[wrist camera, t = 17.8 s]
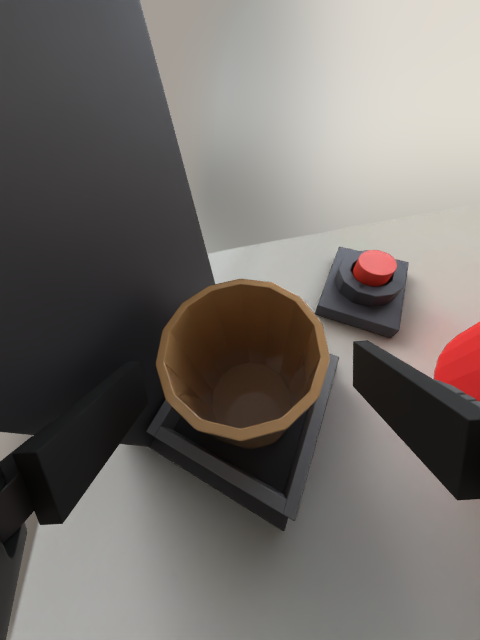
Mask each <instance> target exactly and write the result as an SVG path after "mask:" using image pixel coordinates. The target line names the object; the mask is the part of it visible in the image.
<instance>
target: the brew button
mask: <svg viewBox="0 0 480 640" xmlns="http://www.w3.org/2000/svg"><path fill="white" fill-rule="evenodd" d="M396 269H397V263H396V260H395V259H394V258H393V257H392V256H391V255H389V254H388V253H386V252H383V251H379V250H369V251H366V252H364V253H362V254H361V255H360V256H359V258H358V260H357V262H356V265H355V267H354V269H353V274H354V277H355V278H356V279H357V280H358V281H359V282H361V283H362V284H364V285H367V286H372V287H378V286H382V285H384V284H386V283H387V282H388V280H389V279H390V278H391V276H392V275H393V273H394V272H395V271H396Z"/></svg>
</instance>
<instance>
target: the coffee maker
mask: <svg viewBox="0 0 480 640" xmlns="http://www.w3.org/2000/svg"><path fill="white" fill-rule="evenodd" d="M211 285H215V281H214V278H213V274H212V270H211V266H210V263H209V259H208V255H207V252H206V248H205V244H204V240H203V237H202V233H201V229H200V225H199V221H198V217H197V214H196V210H195V206H194V203H193V199H192V195H191V191H190V187H189V183H188V180H187V176H186V172H185V168H184V165H183V161H182V157H181V153H180V150H179V146H178V142H177V138H176V134H175V131H174V127H173V124H172V119H171V116H170V112H169V108H168V104H167V101H166V97H165V93H164V89H163V85H162V82H161V78H160V74H159V71H158V67H157V63H156V59H155V56H154V52H153V48H152V44H151V40H150V37H149V33H148V29H147V25H146V22H145V18H144V15H143V10H142V6H141V3H140V0H0V432H8V433H18V434H28V435H34V434H36V433H37V432H38V431H39V430H41V429H43V428H44V426H46V425H47V424H48V423H49V422H51V421H52V420H53V419H54V418H56V417H58V416H60V415H61V414H63V413H64V412H65V411H66V410H68V409H69V408H70V407H71V406H73V405H74V404H75V403H76V402H78V401H79V400H80V399H81V398H83V397H84V396H85V395H86V394H88V393H89V392H90V391H91V390H93V389H94V388H95V387H96V386H98V385H99V384H100V383H101V382H103V381H104V380H105V379H106V378H108V377H109V376H110V375H111V374H113V373H114V372H115V371H116V370H118V369H119V368H120V367H121V366H123V365H124V364H125V363H126V362H134V361H140V366H141V370H142V375H143V380H144V384H145V389H146V393H147V398H148V402H149V403H148V404H147V406H146V407H145V409H144V410H143V411H142V413H141V414H140V416H139V417H138V418H137V420H136V421H135V423H134V424H133V425H132V427H131V428H130V430H129V431H128V433H127V434H126V435H125V437H124V438H123V440H122V441H121V442H120V444H128V445H138V446H148V447H150V448H151V449H153V450H155V451H156V452H158V453H159V454H161V455H163V456H164V457H166V458H167V459H169V460H171V461H172V462H174V463H175V464H177V465H179V466H180V467H182V468H183V469H185V470H186V471H188V472H190V473H191V474H193V475H194V476H196V477H198V478H199V479H201V480H202V481H204V482H206V483H207V484H209V485H210V486H212V487H214V488H215V489H217V490H218V491H220V492H222V493H223V494H225V495H226V496H228V497H230V498H231V499H233V500H234V501H236V502H238V503H239V504H241V505H242V506H244V507H246V508H247V509H249V510H250V511H252V512H253V513H255V514H257V515H258V516H260V517H261V518H263V519H265V520H266V521H268V522H269V523H271V524H273V525H274V526H276V527H277V528H279V529H281V530H282V531H284V530H285V526H286V523H287V519H288V518H290V519H292V520H293V521H295V520H296V516H297V512H298V509H299V505H300V501H301V497H302V494H303V490H304V486H305V483H306V479H307V475H308V471H309V468H310V464H311V460H312V457H313V453H314V449H315V445H316V442H317V438H318V434H319V430H320V427H321V423H322V419H323V416H324V412H325V408H326V404H327V401H328V397H329V393H330V390H331V386H332V382H333V378H334V375H335V371H336V367H337V363H338V360H339V357H338V356H335V355H332V354H329V355H330V362H329V365H328V369H327V372H326V376H325V379H324V383H323V386H322V389H321V393H320V396H319V398H318V399H317V400H316V401H315V402H314V403H313V405H312V406H311V407H310V408H309V409H308V410H307V411H306V412H305V413H304V414H303V415H302V416H301V417H300V418H299V419H298V420H297V421H296V422H295V423H294V424H293V425H292V426H291V427H290V428H289V430H287V431H286V432H285V433H284V434H283V435H282V436H281V437H280V438H279V439H278V440H277V441H276V442H275V443H274V444H273V445H270V446H266V447H263V448H259V449H255V450H249V449H245V448H241V447H237V446H233V445H230V444H228V443H226V442H223V441H221V440H219V439H216V438H214V437H212V436H209V435H207V434H205V433H202V432H200V431H198V430H196V429H194V428H193V427H192V426H191V425H190V424H189V423H188V422H187V421H186V420H185V419H184V418H183V417H182V416H181V415H180V414H179V413H178V412H177V411H176V410H175V409H174V408H173V407H172V406H171V405H170V404H169V403H168V402H167V401H166V400H165V396H164V393H163V389H162V386H161V382H160V379H159V375H158V372H157V368H156V359H157V354H158V349H159V345H160V340H161V335H162V331H163V329H164V327H165V326H166V325H167V323H168V322H169V320H170V319H171V318H172V316H173V315H174V314H175V312H176V311H177V309H178V308H179V307H180V305H181V304H182V303H183V302H185V301H186V300H188V299H189V298H191V297H193V296H194V295H196V294H197V293H199V292H200V291H202V290H203V289H205V288H207V287H208V286H211Z"/></svg>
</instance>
